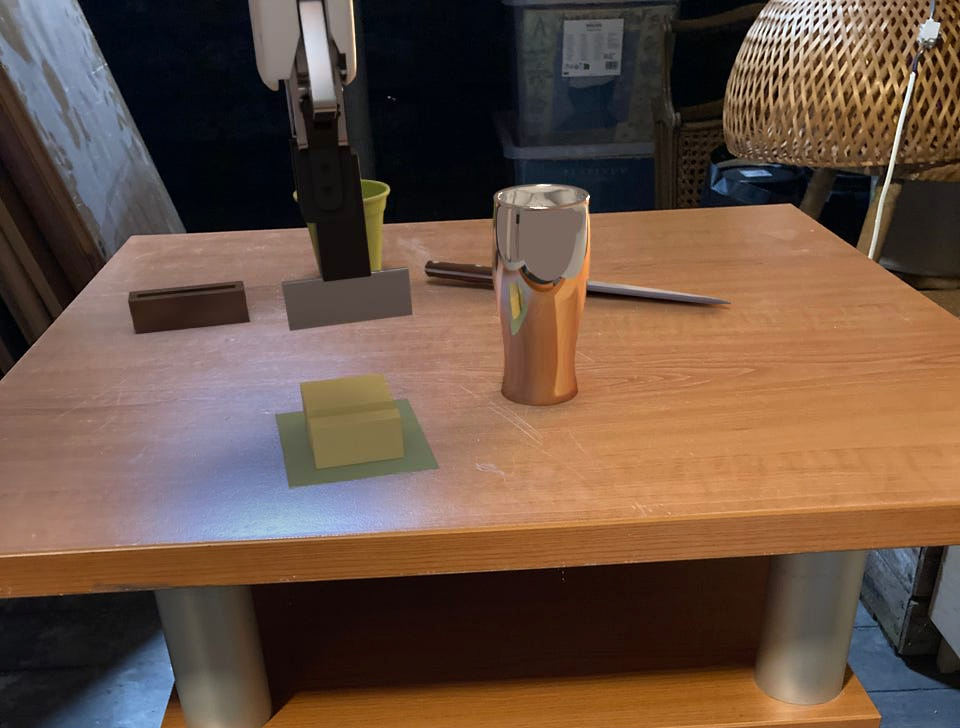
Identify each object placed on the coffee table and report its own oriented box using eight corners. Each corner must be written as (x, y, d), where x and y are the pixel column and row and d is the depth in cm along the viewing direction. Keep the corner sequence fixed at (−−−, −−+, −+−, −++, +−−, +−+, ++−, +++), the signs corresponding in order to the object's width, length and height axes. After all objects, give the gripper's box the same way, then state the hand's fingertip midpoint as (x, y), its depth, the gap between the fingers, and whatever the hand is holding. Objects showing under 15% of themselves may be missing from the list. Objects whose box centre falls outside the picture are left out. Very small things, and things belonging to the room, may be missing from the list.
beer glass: (536, 376, 81) (538, 178, 72) (603, 400, 77) (613, 192, 68) (475, 403, 77) (469, 196, 68) (542, 429, 73) (544, 213, 64)
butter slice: (316, 469, 67) (310, 428, 65) (314, 459, 68) (308, 418, 66) (404, 458, 68) (401, 416, 66) (400, 448, 69) (397, 407, 67)
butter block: (311, 451, 69) (306, 410, 67) (305, 421, 73) (299, 382, 71) (397, 440, 70) (393, 399, 68) (386, 411, 74) (382, 372, 72)
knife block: (135, 333, 92) (127, 301, 90) (136, 323, 94) (129, 291, 92) (249, 321, 93) (244, 289, 92) (248, 312, 96) (242, 280, 94)
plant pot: (339, 301, 97) (329, 207, 92) (287, 280, 103) (274, 191, 98) (414, 279, 102) (409, 189, 97) (361, 261, 108) (352, 174, 103)
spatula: (291, 335, 63) (262, 163, 57) (288, 325, 64) (260, 156, 58) (415, 319, 64) (400, 149, 58) (409, 309, 66) (394, 143, 60)
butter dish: (291, 501, 65) (289, 488, 65) (277, 426, 75) (275, 413, 74) (440, 481, 67) (439, 467, 66) (408, 410, 76) (407, 397, 76)
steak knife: (437, 265, 104) (436, 247, 103) (735, 297, 96) (738, 278, 95) (421, 281, 101) (420, 263, 100) (728, 316, 93) (731, 297, 92)
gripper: (201, -168, 55) (257, 191, 66) (207, -189, 42) (275, 257, 53) (337, -172, 56) (369, 181, 67) (382, -193, 44) (412, 243, 55)
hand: (327, 212), depth 60 cm, fingers closed on spatula, 2 cm apart
